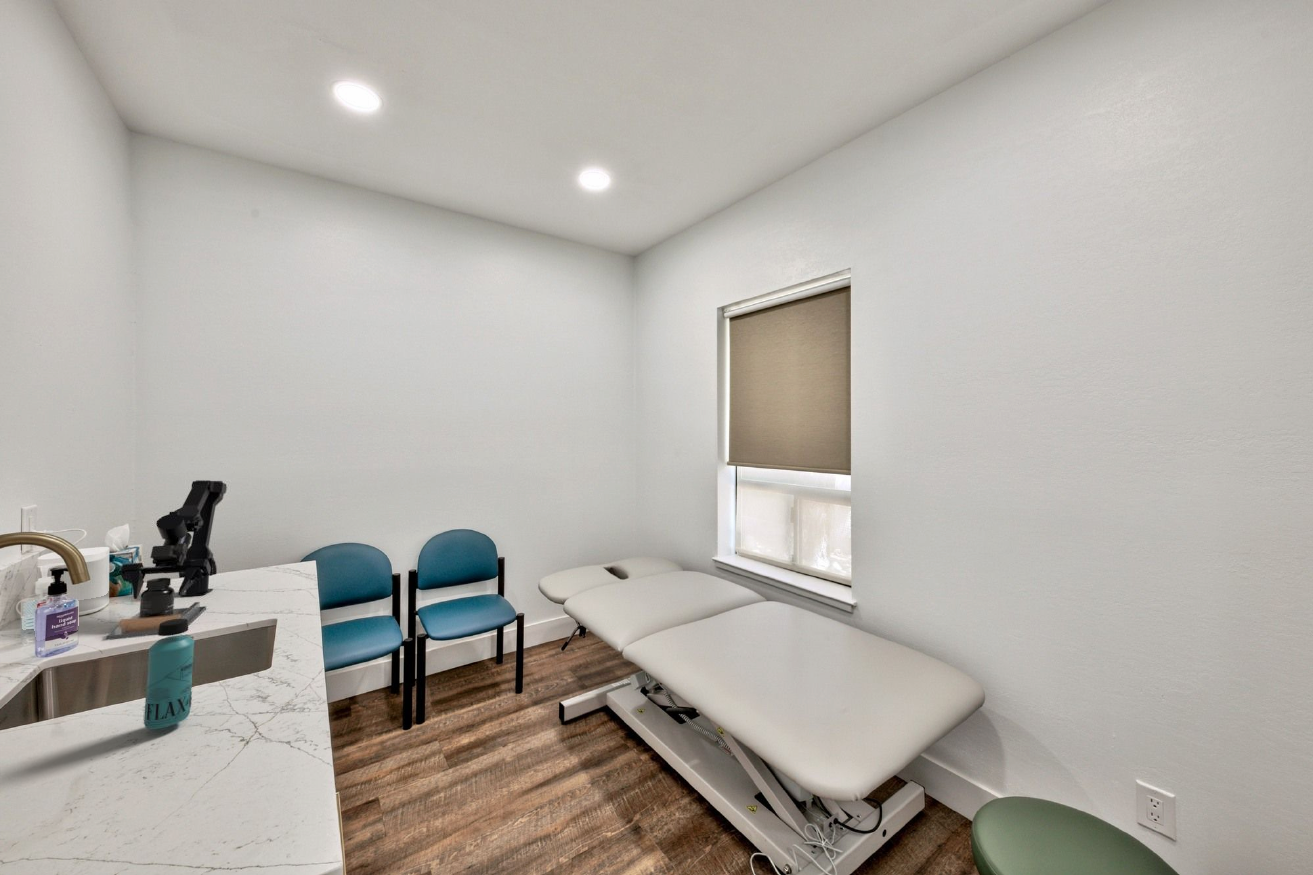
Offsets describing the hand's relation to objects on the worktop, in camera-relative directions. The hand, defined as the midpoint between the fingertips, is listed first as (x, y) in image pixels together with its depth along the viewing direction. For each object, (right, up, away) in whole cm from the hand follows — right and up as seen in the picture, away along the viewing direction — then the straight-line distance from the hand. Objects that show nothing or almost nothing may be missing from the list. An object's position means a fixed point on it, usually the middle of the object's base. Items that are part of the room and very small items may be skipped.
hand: (157, 596), depth 140 cm
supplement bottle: (-1, -8, +1) cm, 8 cm away
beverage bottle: (+48, -10, -46) cm, 68 cm away
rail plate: (-2, -9, +3) cm, 9 cm away
